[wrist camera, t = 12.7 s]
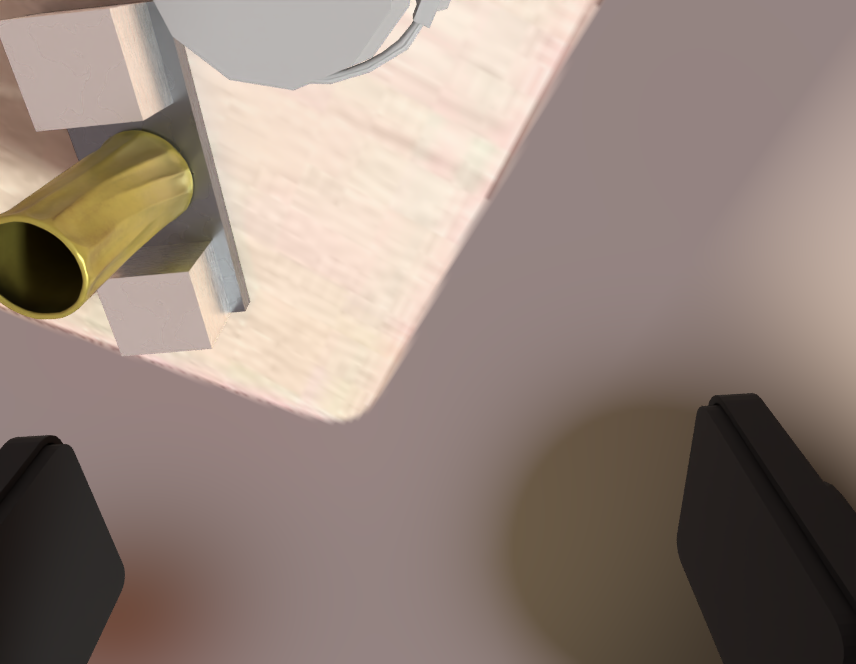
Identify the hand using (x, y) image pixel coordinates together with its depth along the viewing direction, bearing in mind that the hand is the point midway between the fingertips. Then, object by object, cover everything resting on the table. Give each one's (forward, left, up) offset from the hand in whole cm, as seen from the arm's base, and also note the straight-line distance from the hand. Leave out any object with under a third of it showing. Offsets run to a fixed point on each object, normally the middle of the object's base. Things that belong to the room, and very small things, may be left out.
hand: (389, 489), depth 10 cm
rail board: (+4, -18, -36) cm, 40 cm away
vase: (+4, -18, -34) cm, 39 cm away
